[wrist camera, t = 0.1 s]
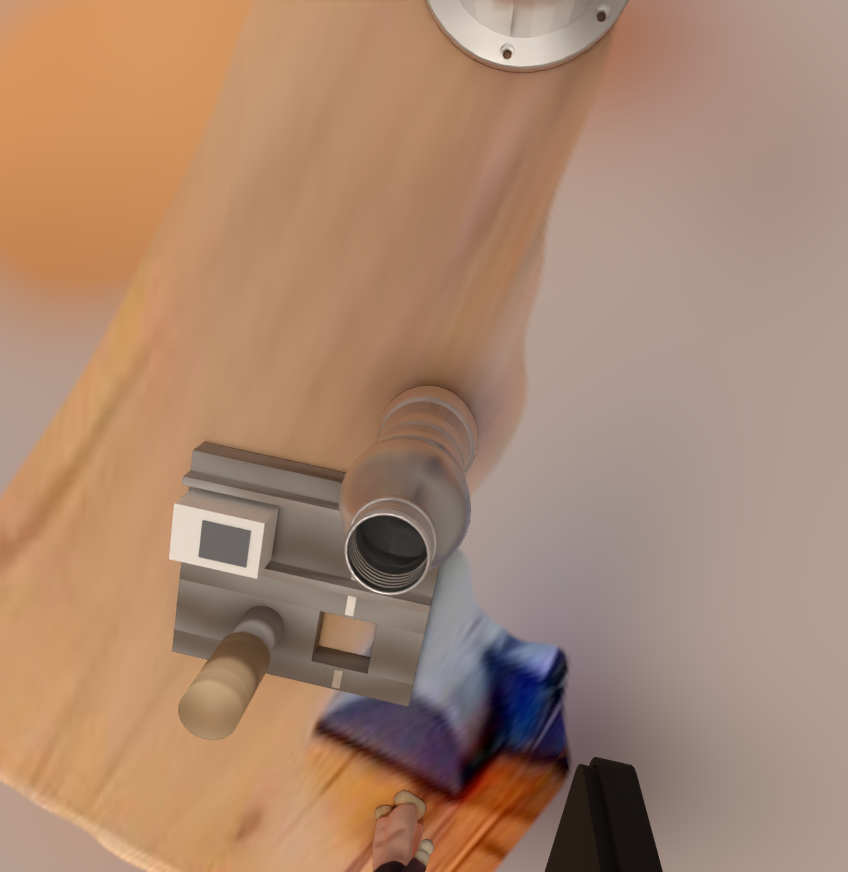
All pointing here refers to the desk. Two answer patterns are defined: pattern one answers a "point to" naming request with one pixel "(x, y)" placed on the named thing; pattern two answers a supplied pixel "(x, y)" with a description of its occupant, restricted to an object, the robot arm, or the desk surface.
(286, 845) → the desk surface
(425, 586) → the grey ridged panel
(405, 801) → the grandmother figurine
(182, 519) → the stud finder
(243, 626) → the tan cylinder
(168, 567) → the desk surface
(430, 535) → the plastic bottle
